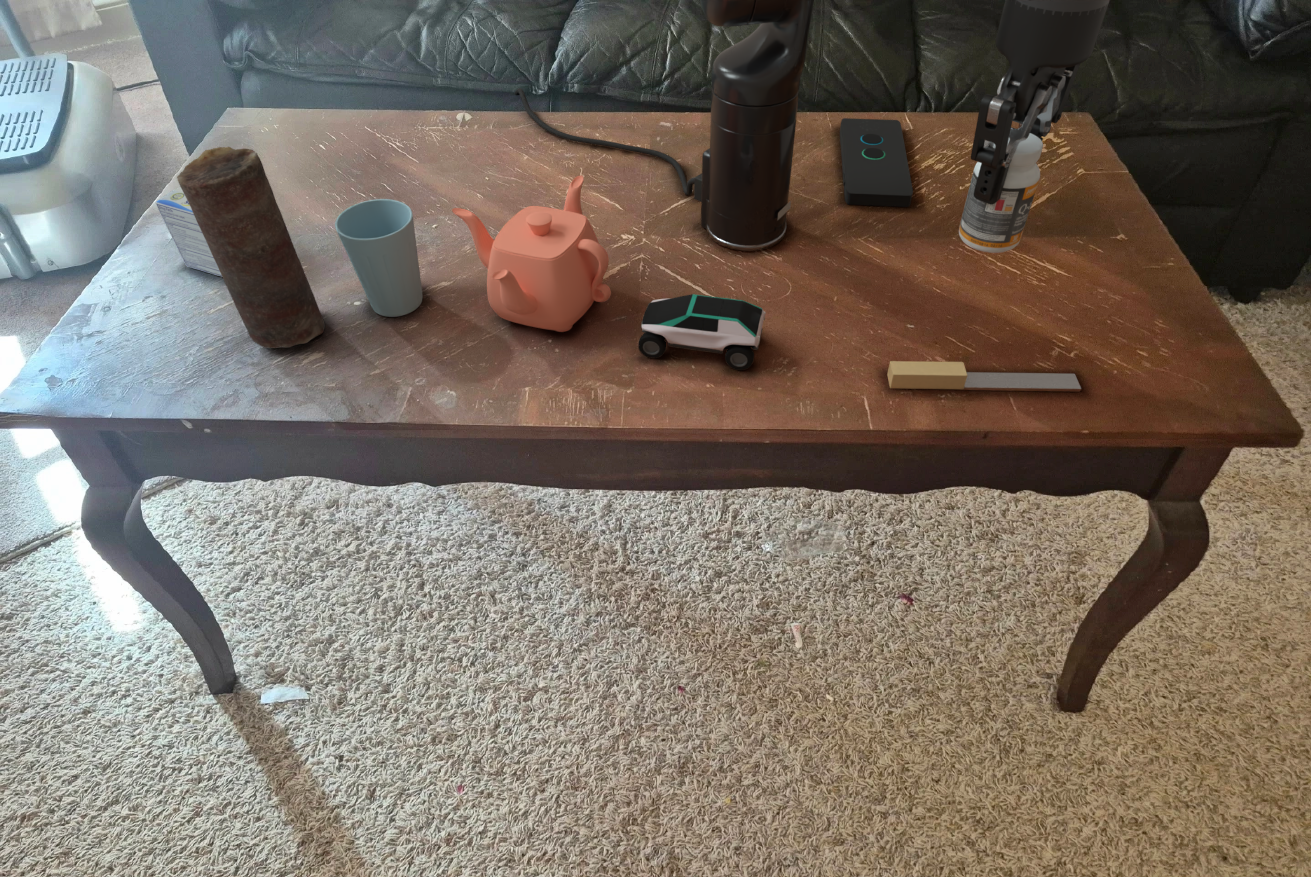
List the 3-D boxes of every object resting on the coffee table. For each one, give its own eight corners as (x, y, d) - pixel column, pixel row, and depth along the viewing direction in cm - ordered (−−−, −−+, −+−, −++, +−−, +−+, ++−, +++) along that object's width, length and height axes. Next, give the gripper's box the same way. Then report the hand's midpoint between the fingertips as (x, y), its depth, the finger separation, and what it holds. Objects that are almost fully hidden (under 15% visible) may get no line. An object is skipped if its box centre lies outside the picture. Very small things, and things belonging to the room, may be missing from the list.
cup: (403, 331, 92) (378, 246, 85) (346, 312, 95) (318, 228, 87) (446, 292, 97) (427, 208, 90) (391, 275, 100) (368, 192, 92)
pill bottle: (1021, 258, 82) (1053, 159, 75) (957, 252, 82) (983, 153, 75) (1016, 225, 85) (1047, 128, 78) (955, 220, 86) (980, 123, 79)
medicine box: (264, 263, 102) (237, 196, 95) (237, 284, 99) (207, 216, 93) (213, 247, 104) (184, 181, 98) (185, 267, 101) (152, 200, 95)
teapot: (509, 364, 88) (492, 273, 80) (468, 289, 97) (449, 201, 90) (640, 324, 92) (636, 233, 85) (588, 255, 102) (580, 168, 94)
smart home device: (901, 118, 120) (915, 194, 106) (899, 130, 121) (912, 207, 107) (839, 116, 121) (845, 191, 107) (838, 128, 122) (843, 204, 108)
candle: (284, 367, 89) (208, 188, 74) (236, 343, 91) (153, 166, 77) (340, 326, 93) (278, 150, 79) (292, 304, 96) (224, 131, 82)
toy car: (755, 373, 87) (759, 330, 83) (637, 357, 89) (636, 315, 85) (764, 336, 91) (768, 294, 87) (651, 321, 93) (650, 279, 89)
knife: (890, 389, 85) (893, 375, 83) (886, 374, 86) (890, 360, 85) (1080, 391, 84) (1086, 377, 83) (1073, 376, 85) (1079, 362, 84)
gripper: (1065, 29, 63) (1003, 234, 75) (1144, -25, 70) (1076, 170, 82) (969, 4, 66) (925, 203, 78) (1054, -44, 74) (1001, 145, 86)
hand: (1002, 185), depth 80 cm, fingers closed on pill bottle, 5 cm apart
